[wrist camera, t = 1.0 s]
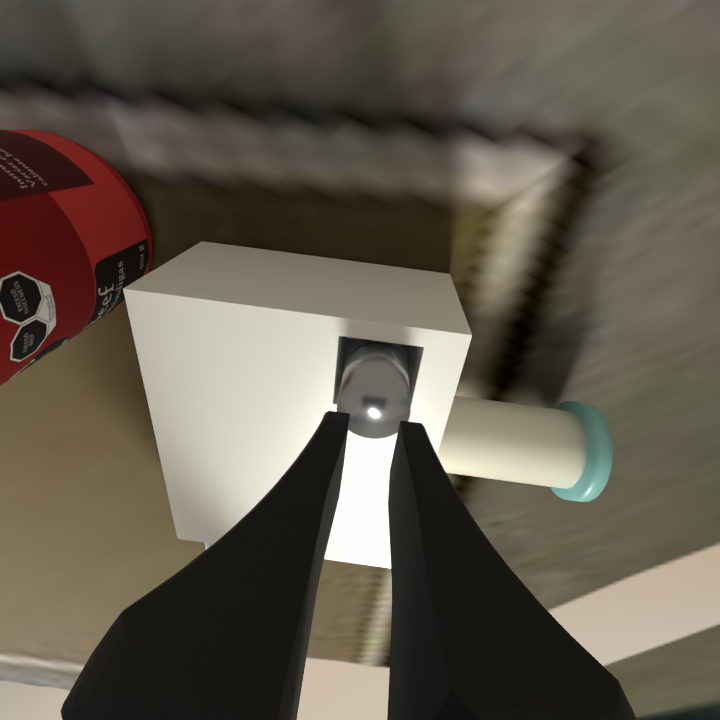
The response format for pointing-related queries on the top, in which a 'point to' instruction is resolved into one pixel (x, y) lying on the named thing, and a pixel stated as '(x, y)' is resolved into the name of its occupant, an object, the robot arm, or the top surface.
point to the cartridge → (529, 445)
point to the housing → (283, 377)
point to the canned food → (61, 244)
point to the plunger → (375, 388)
